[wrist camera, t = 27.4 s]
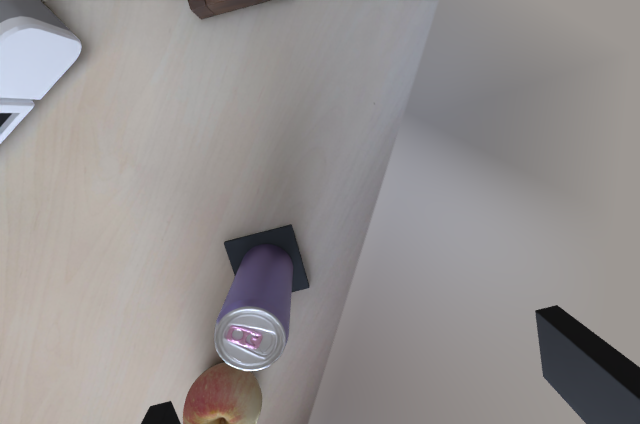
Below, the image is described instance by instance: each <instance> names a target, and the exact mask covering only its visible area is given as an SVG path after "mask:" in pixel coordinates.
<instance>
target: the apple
mask: <svg viewBox="0 0 640 424" xmlns="http://www.w3.org/2000/svg"><path fill="white" fill-rule="evenodd" d="M261 407H262V393H261V389H260V386H259V384H258V381H257V379H256V378H255V376H254V375H253V374H252V373H251V372H250V371H245V370H240V369H237V368H234V367H232V366H230V365H229V364H227V363H226V362H224V363H220V364H217V365H215V366H212V367H211V368H209V369H208V370H206V371H205V372H204V373H203V374H201V375H200V376H199V377H198V378H197V380H196V381H195V382H194V383H193V385H192V386H191V388H190V390H189V392H188V394H187V397H186V401H185V405H184V410H183V424H256V423H257V421H258V418H259V415H260V412H261Z"/></svg>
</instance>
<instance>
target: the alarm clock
mask: <svg viewBox="0 0 640 424" xmlns="http://www.w3.org/2000/svg"><path fill="white" fill-rule="evenodd" d="M81 49H82V45H81V41H80V40H79V39H78V38H77V37H76V36H75V35H74V34H73V33H72V32H71V31H70V30H69V29H68V28H67V27H66V26H65V25H64V24H63V23H62V22H61V21H60V20H59V19H58V18H57V17H56V16H55V15H54V14H53V13H52V12H51V11H50V10H49V9H48V8H47V7H46V6H45V5H44V4H43V3H42V2H41V1H40V0H0V144H1V143H2V142H3V140H4V139H5V138H6V137H7V136H8V135H9V134H10V133H11V132H12V130H13V129H14V128H15V127H16V126H17V125H18V124H19V123H20V122H21V121H22V119H23V118H24V117H25V116H26V115H27V114H28V113H29V112H30V111H31V109H32V108H33V107H34V106H35V105H34V102H33V101H32V100H31V99H36V100H40V99H41V98H42V97H43V96H44V95H45V94H46V93H47V92H48V91H49V90H50V88H51V87H52V86H53V85H54V84H55V83H56V82H57V81H58V80H59V78H60V77H61V76H62V75H63V74H64V73H65V72H66V71H67V70H68V68H69V67H70V66H71V65H72V64H73V63H74V62H75V61H76V59H77V58H78V56H79V55H80V52H81Z"/></svg>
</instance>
